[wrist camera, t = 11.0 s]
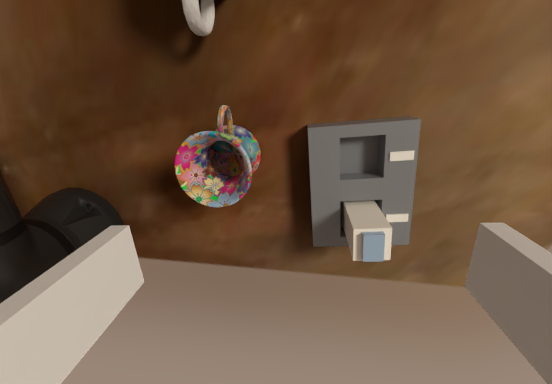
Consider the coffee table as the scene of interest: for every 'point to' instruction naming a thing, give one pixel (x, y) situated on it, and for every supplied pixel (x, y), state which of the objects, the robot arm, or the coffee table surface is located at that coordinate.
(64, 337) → the robot arm
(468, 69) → the coffee table surface
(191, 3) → the mug
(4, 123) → the coffee table surface
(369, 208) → the plug
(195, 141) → the mug
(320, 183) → the panel
